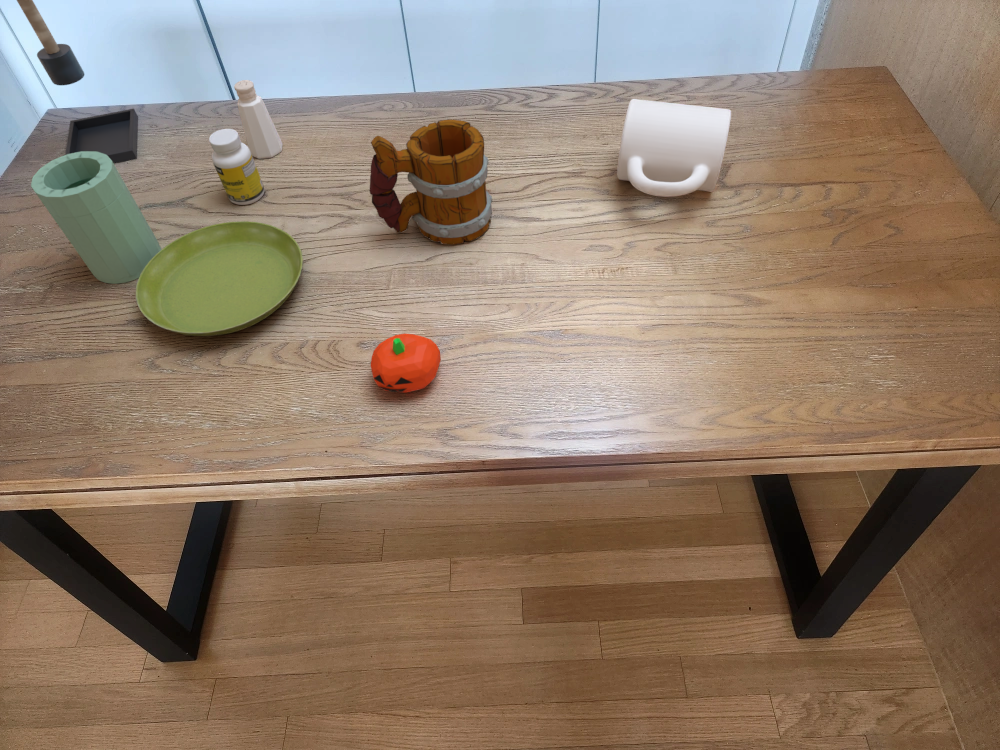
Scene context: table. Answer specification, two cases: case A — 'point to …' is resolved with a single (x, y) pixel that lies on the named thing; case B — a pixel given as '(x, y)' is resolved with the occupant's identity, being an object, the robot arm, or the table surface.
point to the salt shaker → (257, 122)
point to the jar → (97, 215)
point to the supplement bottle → (236, 167)
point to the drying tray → (106, 135)
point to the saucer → (219, 278)
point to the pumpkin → (405, 363)
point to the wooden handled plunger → (52, 49)
